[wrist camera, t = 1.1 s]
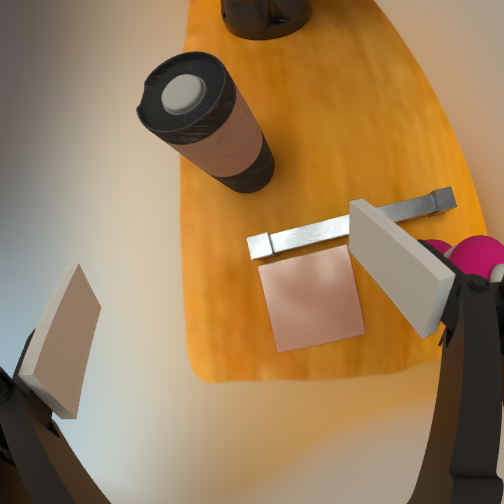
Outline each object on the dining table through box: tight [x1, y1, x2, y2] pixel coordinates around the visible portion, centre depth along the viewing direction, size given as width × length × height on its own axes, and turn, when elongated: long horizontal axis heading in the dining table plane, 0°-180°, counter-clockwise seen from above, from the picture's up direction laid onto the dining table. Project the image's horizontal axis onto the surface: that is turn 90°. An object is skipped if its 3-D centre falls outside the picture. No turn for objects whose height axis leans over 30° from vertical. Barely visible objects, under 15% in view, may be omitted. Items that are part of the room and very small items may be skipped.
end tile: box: [258, 245, 365, 353], centre depth 35 cm, size 11×11×1 cm
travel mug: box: [136, 52, 274, 193], centre depth 29 cm, size 8×8×20 cm
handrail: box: [247, 187, 457, 260], centre depth 33 cm, size 24×2×4 cm, turn 103°
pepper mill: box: [424, 235, 504, 283], centre depth 23 cm, size 7×7×20 cm
